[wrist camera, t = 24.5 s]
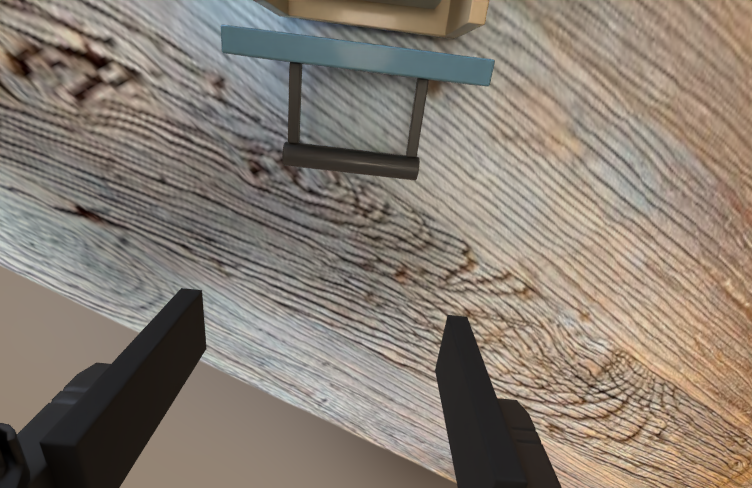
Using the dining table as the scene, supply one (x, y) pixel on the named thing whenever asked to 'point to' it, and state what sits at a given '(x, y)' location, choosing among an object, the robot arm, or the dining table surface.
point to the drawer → (364, 67)
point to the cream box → (411, 3)
